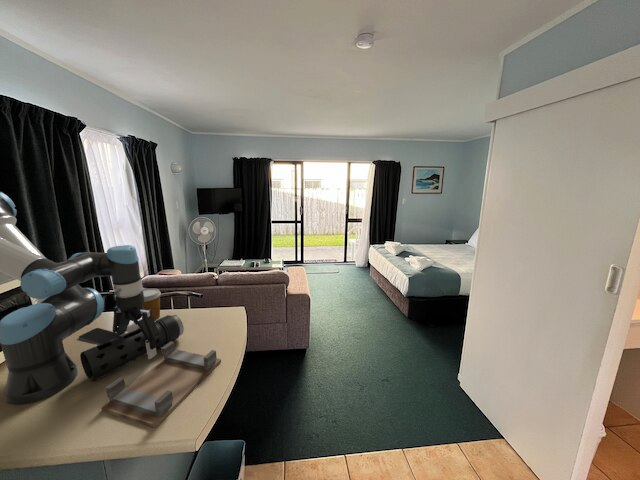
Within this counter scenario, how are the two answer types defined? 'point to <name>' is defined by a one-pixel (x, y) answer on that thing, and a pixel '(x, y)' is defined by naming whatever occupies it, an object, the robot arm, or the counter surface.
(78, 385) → the counter surface
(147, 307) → the disposable coffee cup
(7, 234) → the robot arm
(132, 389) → the mounting board
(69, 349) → the counter surface
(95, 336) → the smartphone
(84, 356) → the muzzle brake
